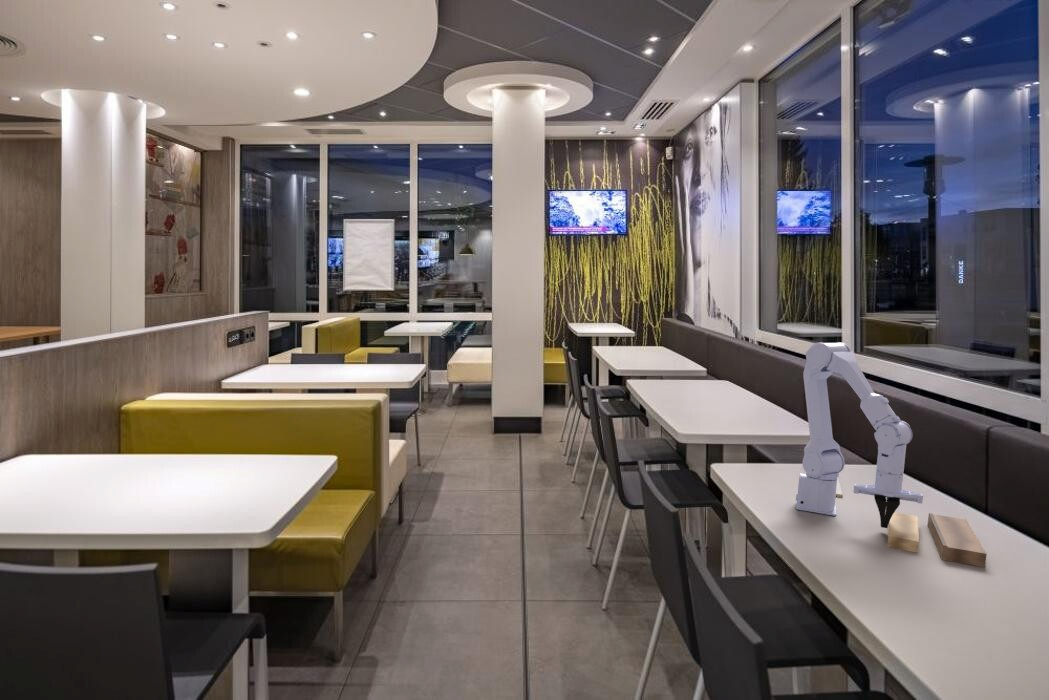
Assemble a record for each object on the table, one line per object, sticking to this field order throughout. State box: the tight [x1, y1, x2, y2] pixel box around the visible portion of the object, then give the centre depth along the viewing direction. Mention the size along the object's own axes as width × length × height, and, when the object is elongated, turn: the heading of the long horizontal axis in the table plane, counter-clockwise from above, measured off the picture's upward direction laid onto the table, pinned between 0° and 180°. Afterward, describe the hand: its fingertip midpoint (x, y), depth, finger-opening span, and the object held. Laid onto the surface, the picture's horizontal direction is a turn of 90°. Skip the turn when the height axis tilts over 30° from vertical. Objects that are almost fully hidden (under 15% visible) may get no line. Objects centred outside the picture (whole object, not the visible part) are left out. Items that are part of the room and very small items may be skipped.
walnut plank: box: [927, 512, 987, 568], centre depth 157 cm, size 8×24×3 cm, turn 156°
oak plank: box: [886, 511, 920, 553], centre depth 161 cm, size 6×20×3 cm, turn 151°
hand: (883, 526), depth 163 cm, fingers closed
